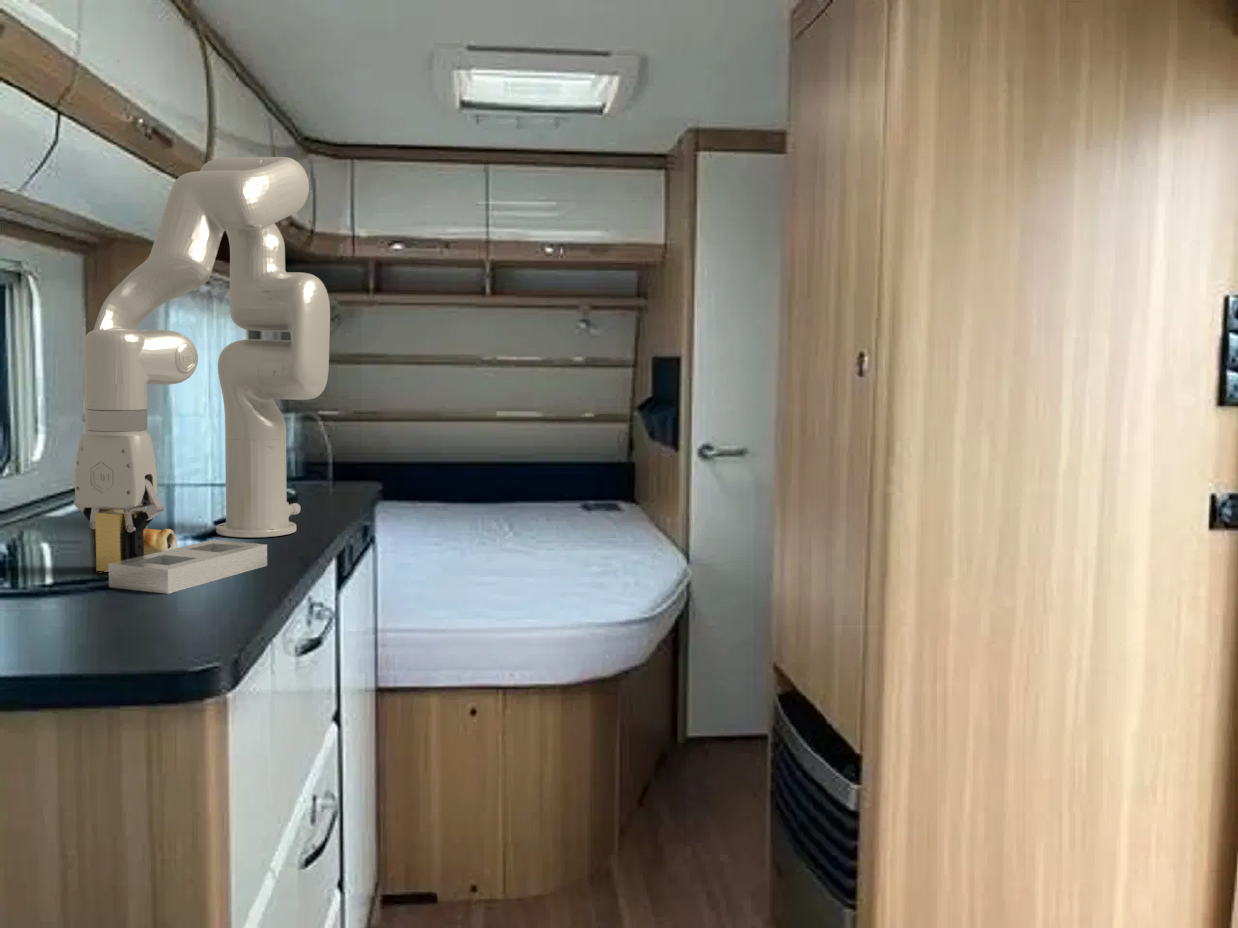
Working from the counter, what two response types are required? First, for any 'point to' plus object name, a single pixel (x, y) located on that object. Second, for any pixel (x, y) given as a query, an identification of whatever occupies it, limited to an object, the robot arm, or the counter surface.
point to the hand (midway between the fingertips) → (119, 557)
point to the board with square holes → (187, 566)
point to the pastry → (158, 540)
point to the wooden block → (109, 538)
